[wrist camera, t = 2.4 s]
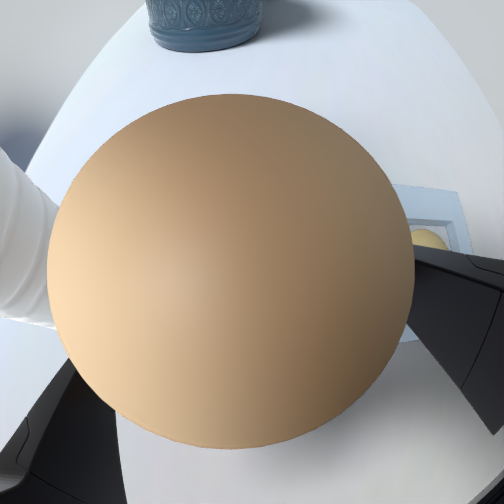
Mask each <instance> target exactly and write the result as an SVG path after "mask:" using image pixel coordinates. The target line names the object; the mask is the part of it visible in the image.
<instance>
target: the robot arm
mask: <svg viewBox="0 0 504 504" xmlns="http://www.w3.org/2000/svg"><path fill="white" fill-rule="evenodd" d="M413 251H414V262H415V282H414V290H413V297H412V304H411V308H410V312H409V315H408V319H407V322H406V324H407V325H408V326H409V327H410V329H411V330H412V331H413V332H414V333H415V335H416V336H417V337H418V338H419V339H420V341H421V342H422V343H423V344H424V345H425V347H426V348H427V349H428V350H429V351H430V353H431V354H432V355H433V356H434V358H435V359H436V360H437V361H438V363H439V364H440V365H441V366H442V368H443V369H444V370H445V371H446V373H447V374H448V375H449V376H450V378H451V379H452V380H453V382H454V383H455V384H456V386H457V387H458V388H459V389H460V390H461V392H462V394H463V395H464V396H465V398H466V399H467V400H468V402H469V403H470V404H471V406H472V407H473V409H474V410H475V411H476V413H477V414H478V415H479V417H480V418H481V420H482V421H483V422H484V424H485V425H486V427H487V428H488V430H489V431H490V432H491V434H492V435H495V434H496V433H497V432H498V431H499V430H500V428H501V427H502V426H503V425H504V260H499V259H492V258H486V257H480V256H475V255H470V254H464V253H459V252H453V251H448V250H443V249H437V248H432V247H426V246H420V245H414V244H413ZM0 504H127V499H126V494H125V489H124V483H123V476H122V470H121V463H120V455H119V447H118V437H117V426H116V414H115V410H114V409H113V408H112V407H110V406H109V405H108V404H107V403H106V402H104V401H103V400H102V399H101V398H100V397H99V396H98V395H97V394H96V393H95V392H94V390H93V389H92V388H91V387H90V386H89V385H88V384H87V383H86V382H85V380H84V379H83V378H82V376H81V375H80V373H79V372H78V370H77V369H76V367H75V366H74V364H73V363H72V361H71V360H70V358H68V359H67V361H66V362H65V363H64V365H63V366H62V367H61V368H60V370H59V371H58V372H57V374H56V375H55V376H54V378H53V379H52V380H51V382H50V383H49V385H48V386H47V387H46V389H45V390H44V391H43V393H42V394H41V396H40V397H39V398H38V400H37V401H36V403H35V404H34V405H33V407H32V408H31V410H30V411H29V413H28V414H27V417H25V418H24V420H23V421H22V423H21V424H20V426H19V427H18V429H17V430H16V432H15V433H14V434H13V436H12V437H11V439H10V440H9V441H8V443H7V444H6V445H5V447H4V448H3V449H2V451H1V452H0ZM468 504H504V470H503V471H502V472H501V473H500V474H499V475H498V476H497V477H496V478H495V479H494V480H493V481H492V482H491V483H490V484H489V485H488V486H487V487H486V488H485V489H484V490H483V491H482V492H481V493H479V494H478V495H477V496H476V497H475V498H474V499H473V500H472V501H470V502H469V503H468Z"/></svg>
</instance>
